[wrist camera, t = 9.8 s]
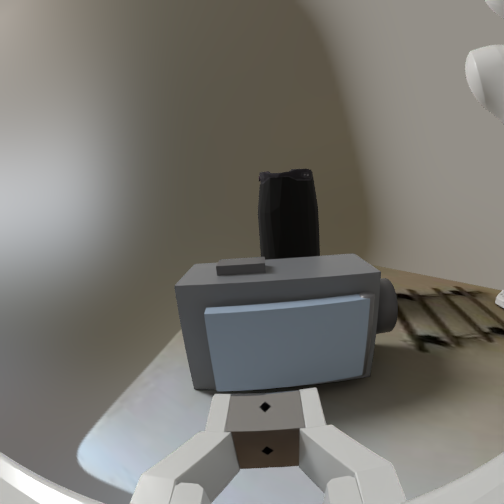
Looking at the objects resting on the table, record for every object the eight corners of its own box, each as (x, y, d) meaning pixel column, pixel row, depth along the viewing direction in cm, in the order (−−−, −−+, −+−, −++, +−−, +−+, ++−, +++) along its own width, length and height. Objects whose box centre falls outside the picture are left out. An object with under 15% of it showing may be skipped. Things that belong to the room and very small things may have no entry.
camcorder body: (372, 337, 29) (377, 244, 27) (395, 371, 22) (410, 259, 20) (207, 351, 30) (193, 256, 28) (194, 389, 23) (172, 276, 21)
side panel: (363, 367, 22) (371, 291, 20) (368, 374, 21) (377, 296, 19) (218, 383, 22) (206, 306, 20) (217, 392, 21) (203, 312, 19)
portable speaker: (255, 308, 42) (244, 172, 38) (278, 288, 50) (270, 175, 46) (311, 313, 38) (305, 166, 34) (325, 291, 46) (320, 171, 42)
